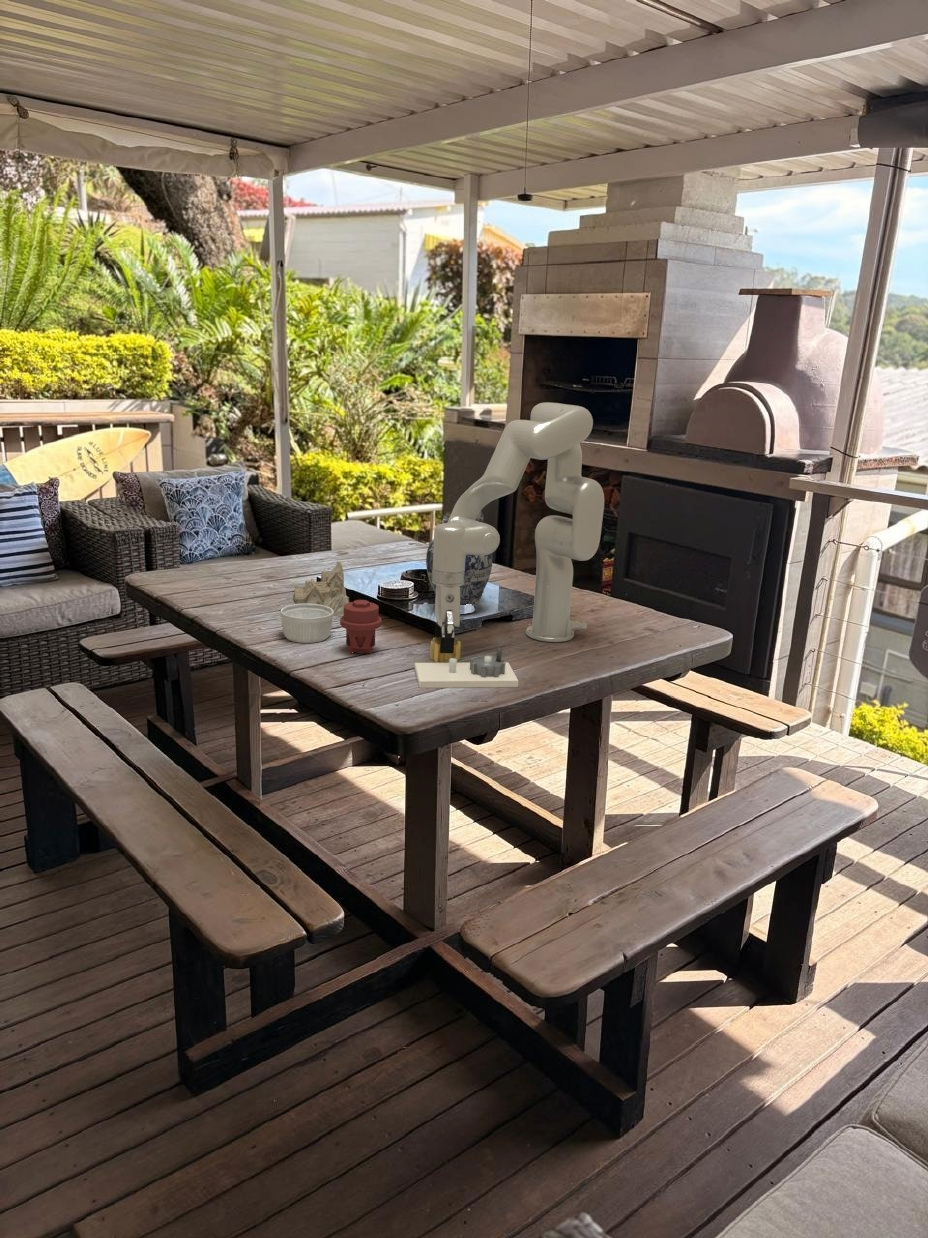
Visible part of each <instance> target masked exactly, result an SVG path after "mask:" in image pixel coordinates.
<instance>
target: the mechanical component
mask: <svg viewBox="0 0 928 1238" xmlns="http://www.w3.org/2000/svg"><path fill="white" fill-rule="evenodd" d="M379 609H380V608H379V605H378V604H376V603H374V602H370V601H369V600H367V599H356V600H353V601H351V602H350V601H349V603H347V604H345V605H344V615H341V616H340V618H339V625H340V626H341V627H342V628H344V629H345V631H346V633H345V635H346V636H345V637H346V638H345V644H346V646H347V652H348V653H349V652H350V653H349V654H355V653H354V652H364V653H363V654H368V653H370V654H373V651H374V647H375V645H376V630H377V629H379V628H381V627H382V625H383V620H382V617H381V616H379V611H380V610H379ZM352 652H353V653H352Z"/></svg>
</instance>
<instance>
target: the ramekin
mask: <svg viewBox="0 0 928 1238" xmlns="http://www.w3.org/2000/svg"><path fill="white" fill-rule="evenodd" d="M280 609H281V610H280V613H279V614H280V618H281V626H282V631H283V632H282V633H283V635H284V637H285V638H286V639H287V640H289V641H291V642H295V643H301V644H312V643H313V644H314V643H320V642H324V641H326V640H327V639H328V638H329V636H330V635H331V633H332V628H333V627H332V626H333V619H334V617H335V616H334V611H333V609H332V608H330V607H328V606H324V605H320V604H308V603H306V604H295V603H294V604H289V605H287V606H284V607H282V608H280Z"/></svg>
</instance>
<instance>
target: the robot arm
mask: <svg viewBox="0 0 928 1238" xmlns="http://www.w3.org/2000/svg"><path fill="white" fill-rule="evenodd" d="M593 425H594V419H593V416H592V414H591V412H590V411H589V409H587V408H585V407H583V406H580V405H575V404H574V405H573V404H565V403H559V402H540V403H538V404H536V405H534V406H533V408H532V409H531V412H530V419H529V420H528V419H515V420H511V421H510V422H508V424H506V426H505V427H504V428H503V431H502V434H501V436H500V438H499V440H498V442H497V445H496V447H495V450H494V451H493V453H492V456H491V458H490V461H489V462H488V465H487V467H486V469H485V471H484V473H483V474H482V476H481V477H480V478H479V479H477V480H476V481H475V482H474V483H472V485H470V486H469V487H468V489H466V490H465V492H464V493H462V494H461V495H460V497H459V498H458V499H457V501H456V503H455V504H454V506H453V509H452V510H451V511H452V513H451V515H450V518H449V520H448V523H443V524H439V523H438V524H439V525H438V524H437V525H436V527H435V528H434V534H433V535H434V538H433V539H434V552H433V570H432V583H433V584H435V585H436V593H435V600H434V601H435V605H434V606H435V608H434V612H435V613H434V615H435V620H436V624H435V632H434V633H435V634H434V635H435V637H437V638H439V637H441V639H440V653H453V652H454V638H456V637H455V627H456V628H459V627H460V620H461V619H460V616H461V615H460V586H462V585H463V584H464V573H465V558H466V555H480V556H482V555H488V554H491V553H492V554H493V553H495V551H496V550H497V549H498V547H499V545H500V542H501V541H500V540H501V538H500V534H499V532H498V530H497V529H496V528H495V527H494V526H492V525H490V524H488V523H485V522H483V523H482V522H478V521H475V519H476V517H477V515H478V514H479V512H480V511H481V512H482V510H483V509H484V508H485V506H487V505H488V504H490V503H491V502H492V501H494V500H497V499H499V498H502V497H505V496H507V495H510V494H513V493H514V492H515V491H517V489H518V487H519V485H520V481H521V480H522V478H523V475H524V473H525V471H526V469H527V466H528V465H529V462H530V460H531V459H535V460H541V461H544V460H547V469H546V479H545V489H544V500H545V504H546V506H548V507H549V508H550V509H551V510H553V511H557V512H560V513H564V514H565V513H566V514H569V515H572V518H569V517H566V516H561V515H547V516H545V517H543V518H541V520H539V522H538V523H537V525H536V528H535V530H534V542H535V550H536V552H535V553H536V571H535V573H536V574H535V583H534V585H535V586H534V599H533V610H532V611H533V614H532V625H529V626H527V627H526V630H525V634H526V635H527V637H529V638H531V639H534V640H537V641H541V642H547V643H548V642H549V643H562V642H563V643H564V642H567V641H571V640H572V639H574V638H575V637H574V636H575V631H576V630H579V631H586V630H587V629H588V624H587V622H580V621H581V620H572V619H571V618H570V614H571V605H572V602H571V601H572V593H573V591H572V590H573V581H574V566H573V560H574V561H575V560H576V561H582V562H583V561H589V560H590V559H592V558H593V556H595V554H596V553H597V551H598V549H599V546H600V541H601V535H602V528H603V519H604V518H603V517H604V511H605V494H604V491H603V487H602V486H601V484H600V483H599V482H598V481H597V480H595V479H592V478H589V477H585V476H582V466H583V465H582V464H583V462H582V461H583V452H582V447H581V443H583V442H584V441H585V440H586V439H587V438H588V437H589V436H590V434H591V433H592V430H593Z"/></svg>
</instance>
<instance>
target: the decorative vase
mask: <svg viewBox="0 0 928 1238" xmlns="http://www.w3.org/2000/svg"><path fill="white" fill-rule="evenodd" d="M452 511H453V510H449V511H446V514H445V515H443V517H442V520H440V521H439V522H438V524H437V525H439V524H443V523H448V520H449V518H450V515H451V513H452ZM475 521H478V522H482V523H484V514H483V512H482V510H481V511H480V512H479V514H478V515H477V517H476V519H475ZM433 552H434V538H433V539H432V540H431V541H430V543H429V545H428V547H427V551H426V555H425V558H426V559H425V561H426V562H425V564H426V566H425V567H426V572H427V577H428V580H429V583H430V586H431V588H432V590H433V592H434V593H435V594H436V585H435V584H433V583H432V570H433ZM492 567H493V552H492V553H491V554H488V555H482V556H480V555H466V558H465V573H464V584H463V585H462V586H460V605H466V604H472V605H475V604H476V603H479V602H480V601H481V599H482V596H483V594H484V590H485V588H486V586H487V584H488V583H489V579H490V577H491V573H492V569H493V568H492Z"/></svg>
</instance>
